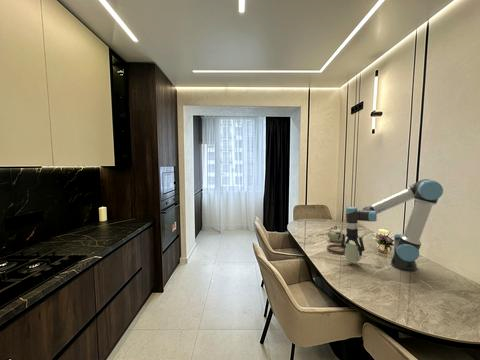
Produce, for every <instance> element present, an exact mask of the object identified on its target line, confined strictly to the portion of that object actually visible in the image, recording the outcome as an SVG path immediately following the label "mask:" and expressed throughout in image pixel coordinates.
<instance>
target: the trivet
mask: <svg viewBox="0 0 480 360" xmlns="http://www.w3.org/2000/svg"><path fill="white" fill-rule="evenodd" d="M326 250H328V251H327V252H329V253H331V252H332V253H331V254H334V255H341V254H342V255H345V252H344V248H343V247H342V246H341V244H335V243H334V244H333V243H331V244H328V245H327V246H326Z"/></svg>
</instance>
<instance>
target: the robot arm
mask: <svg viewBox="0 0 480 360" xmlns="http://www.w3.org/2000/svg"><path fill="white" fill-rule="evenodd" d="M443 194H444V188H443V186H442V185H441V183H440V182H438V181H436V180H433V179H428V178H424V179H420V180H418V181H416V182H415V183H413V184H410V185H409V186H407V187H406V189H404V190H402V191H400V192H397V193H395V194H392V195H391V196H388V197H386V198H384V199H381V200H380V201H377V202H375V203H373V204H371V205H369V206H364V207H363V208H362V210H361V209H358V207H356V206H348V207H346V208H345V222H346V223H345V224H346V230H345V231H346V233H345V232H343V233H344V234H342V236H343V238H342V240H341V244H340V245H341V246H342V247H343V248H344V252H345V254H344V257H345V258H346V243H349V242H354V243H355V244H356V246H358V250H359V251H358V260H360V261H361V260H362V255H363V252H364V251H366V250H365V245H364V241H363V236H359V232H358V231H359V227H358V225H359V224H358V221H359V222H360V221H361V222H372V223H373V222H375V223H376V222H377V220H378V219H377V217H378V216H377V215H378V214H380V213H383V212H385V211H387V210H390V209H392V208H395V207H397V206H399V205H401V204H404V203H406V202H408V201H411V200H414V201H415V202H414V204H413V207H412V210H411V213H410V216H409V218H408V221H407V225H406V227H405V230H404V232H403V233H395V234H394V237H393V239H394V240H393V241H394V242H393V243H394V245H393V247H394V248H393V255H392V257H391V260H390V266H392V267H394V268H396V269H399V270H403V271H408V272H413V271H416V270H417V269H418V265H417V260H418V259H419V257H420V248H421V246H422V242H421V241H420V240H421V237H422V234H423V232H424V229H425V227H426V223H427V221H428V218H429V215H430V214H431V210H432V207H433V206H434V205H437V203H438V201H439V198H441V197H442V196H443ZM346 237H347V238H346Z"/></svg>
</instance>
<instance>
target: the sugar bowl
mask: <svg viewBox="0 0 480 360" xmlns="http://www.w3.org/2000/svg"><path fill="white" fill-rule="evenodd" d="M344 233H345V232H343V230H341V229H339V228H338V227H337V225H335V226H334V227H331V228H329V229H328V231H327V233H326V234H327V236H328V239H329V240H330V241H332V242H333V241H334V242H335V243H340V242H342V238H343V236H342V234H344Z"/></svg>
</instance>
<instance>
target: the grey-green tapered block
mask: <svg viewBox="0 0 480 360" xmlns="http://www.w3.org/2000/svg"><path fill="white" fill-rule="evenodd" d="M345 243H346V242H345ZM358 251H359V250H358V246H356V244H355V242H354V241H349V243H346V257H345V260H347V261H349V262H353V263H357V262H358V263H359V261H361V260H358Z"/></svg>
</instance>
